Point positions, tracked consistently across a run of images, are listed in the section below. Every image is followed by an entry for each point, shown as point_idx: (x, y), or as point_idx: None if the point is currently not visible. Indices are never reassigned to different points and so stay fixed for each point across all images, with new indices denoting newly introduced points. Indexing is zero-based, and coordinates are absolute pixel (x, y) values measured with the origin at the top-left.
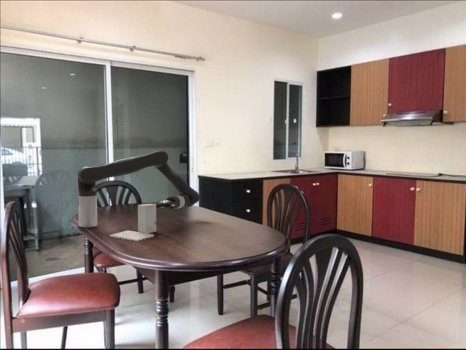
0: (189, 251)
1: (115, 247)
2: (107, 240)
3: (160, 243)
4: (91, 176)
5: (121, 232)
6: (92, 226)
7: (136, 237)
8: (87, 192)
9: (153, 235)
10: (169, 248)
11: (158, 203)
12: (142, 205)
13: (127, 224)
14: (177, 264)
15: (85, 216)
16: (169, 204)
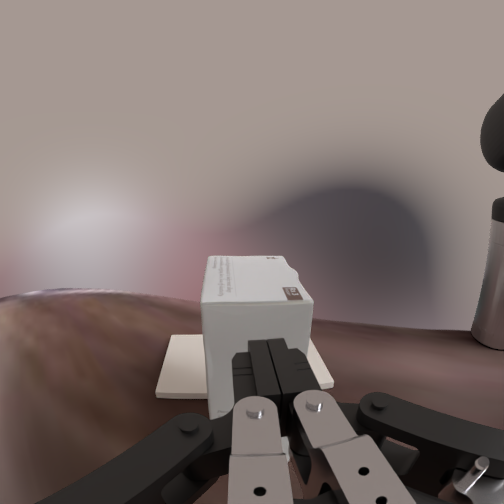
0: (9, 326)
1: (188, 303)
2: None
3: (88, 348)
4: (488, 137)
5: (314, 356)
6: (475, 336)
7: (194, 347)
8: (493, 203)
9: (156, 392)
10: (53, 329)
11: (285, 377)
12: (241, 256)
13: (498, 428)
14: (32, 292)
15: (480, 292)
16: (119, 475)
